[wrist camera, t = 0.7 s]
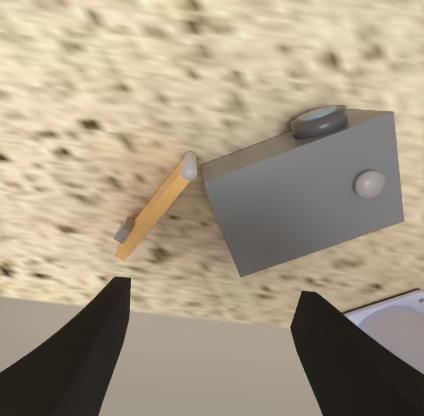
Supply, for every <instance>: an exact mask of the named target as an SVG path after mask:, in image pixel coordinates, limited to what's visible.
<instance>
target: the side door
mask: <svg viewBox="0 0 424 416" xmlns="http://www.w3.org/2000/svg"><path fill="white" fill-rule="evenodd" d="M196 176H197V161H196V155H195V154H194V153H193V152H187V153H185V154H184V157H183V159H182V161H181V162H180V163H179V165H178V166H177V167H176V168H175V170H174V171H173V172H172V173H171V175H170V176H169V177H168V178H167V180H166V181H165V182H164V183H163V185H162V186H161V187H160V188H159V190H158V191H157V192H156V193H155V195H154V196H153V197H152V199H151V200H150V201H149V202H148V204H147V205H146V206H145V207H144V209H143V210H142V211H141V212H140V214H139V215H138V216H137V217H136V219H135V220H133V219H131V218H130V217H127V219H126V220H125V221H124V223H123V224H122V225H121V226H120V228H119V230H118V232H117V233H116V235H115V237H114V239H115V240H117V241H119V242H120V243H121V244H120V246H119V248H118V250H117V252H116V254H115V256H117V257H118V258H120V259H122V260H123V261H125V260H126V258H127V257H128V256H129V255H130V254H131V252H132V251H133V250H134V249H135V248H136V246H137V245H138V244H139V243H140V241H141V240H142V239H143V238H144V237H145V235H146V234H147V233H148V232H149V231H150V229H151V228H152V227H153V226H154V224H155V223H156V222H157V221H158V220H159V218H160V217H161V216H162V215H163V214H164V212H165V211H166V210H167V209H168V207H169V206H170V205H171V204H172V203H173V201H174V200H175V199H176V198H177V197H178V195H179V194H180V193H181V192H182V190H183V189H184V188H185V187H186V186H187V184H188V183H189V182H190V181H191V180H194V179H195V178H196Z"/></svg>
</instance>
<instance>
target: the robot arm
mask: <svg viewBox="0 0 424 416" xmlns="http://www.w3.org/2000/svg"><path fill="white" fill-rule="evenodd" d="M130 289H131V278H127V277H114V278H113V279H112V280H111V281H110V282H109V283H108V284H107V285H106V286H105V287H104V288H103V290H102V291H101V292H100V293H99V294H98V295H97V296H96V297H95V298H94V299H93V300H92V301H91V302H90V303H89V304H88V305H87V306H86V307H85V308H83V309H82V310H81V311H80V312H79V313H78V314H77V315H76V316H75V317H74V318H72V319H71V320H70V321H69V322H68V323H67V324H66V325H64V326H63V327H62V328H61V329H60V330H59V331H58V332H56V333H55V334H54V335H52V336H51V337H50V338H49V339H47V340H46V341H45V342H44V343H42V344H41V345H40V346H38V347H37V348H36V349H34V350H33V351H32V352H30V353H29V354H27V355H26V356H24V357H23V358H21V359H20V360H18V361H17V362H16V363H14V364H13V365H11V366H10V367H8V368H7V369H5V370H4V371H2V372H1V373H0V416H98V415H99V412H100V409H101V405H102V402H103V399H104V397H105V394H106V391H107V388H108V385H109V382H110V380H111V377H112V374H113V371H114V368H115V366H116V363H117V360H118V357H119V354H120V351H121V348H122V345H123V342H124V338H125V334H126V330H127V326H128V321H129V313H130ZM290 328H291V332H292V336H293V340H294V344H295V347H296V350H297V353H298V356H299V358H300V361H301V363H302V366H303V368H304V371H305V373H306V375H307V378H308V380H309V383H310V385H311V387H312V390H313V392H314V395H315V397H316V399H317V402H318V404H319V407H320V409H321V412H322V415H323V416H424V291H422V290H416V291H413V292H410V293H407V294H404V295H401V296H398V297H395V298H392V299H388V300H385V301H382V302H379V303H376V304H373V305H370V306H367V307H364V308H361V309H358V310H355V311H352V312H348V313H345V314H342V313H341V312H340V311H339V310H337V309H336V308H335V307H334V306H333V305H331V304H330V303H329V302H328V301H327V300H325V299H324V298H323V297H322V296H320V295H319V294H318V293H316V292H309V291H302V293H301V296H300V299H299V302H298V305H297V308H296V311H295V314H294V318H293V321H292V324H291V327H290Z"/></svg>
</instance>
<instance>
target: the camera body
mask: <svg viewBox="0 0 424 416" xmlns="http://www.w3.org/2000/svg"><path fill="white" fill-rule="evenodd" d="M290 126H291V130H292V131H289V132H287V133H284V134H281V135H279V136H276V137H274V138H271V139H268V140H266V141H263V142H260V143H258V144H255V145H252V146H250V147H247V148H244V149H242V150H239V151H237V152H234V153H231V154H229V155H226V156H223V157H221V158H218V159H215V160H213V161H210V162H208V163H205V164H202V165H201V170H202V178H203V184H204V186H205V189H206V193H207V195H208V198H209V200H210V203H211V206H212V208H213V211H214V213H215V216H216V218H217V221H218V223H219V226H220V228H221V231H222V233H223V236H224V238H225V241H226V243H227V246H228V248H229V251H230V253H231V256H232V258H233V261H234V262H235V265H236V267H237V270H238V272H239V275H240V277H243V276H246V275H249V274H252V273H255V272H258V271H261V270H264V269H267V268H270V267H273V266H275V265H278V264H281V263H284V262H287V261H290V260H293V259H296V258H299V257H302V256H305V255H307V254H310V253H313V252H316V251H319V250H322V249H325V248H328V247H331V246H334V245H336V244H339V243H342V242H345V241H348V240H351V239H354V238H357V237H360V236H363V235H366V234H368V233H371V232H374V231H377V230H380V229H383V228H386V227H389V226H392V225H395V224H398V223H400V222H403V221H404V216H403V205H402V195H401V184H400V174H399V163H398V153H397V143H396V132H395V122H394V112H390V111H374V110H358V109H347V110H346V106H344V105H336V106H326V107H322V108H318V109H315V110H312V111H309V112H307V113H304V114H302V115H300V116H299V117H297V118H295V119H294V120H292V121H291V122H290Z"/></svg>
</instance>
